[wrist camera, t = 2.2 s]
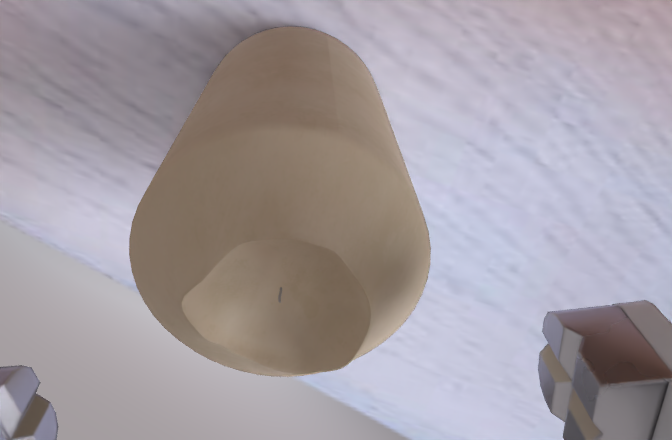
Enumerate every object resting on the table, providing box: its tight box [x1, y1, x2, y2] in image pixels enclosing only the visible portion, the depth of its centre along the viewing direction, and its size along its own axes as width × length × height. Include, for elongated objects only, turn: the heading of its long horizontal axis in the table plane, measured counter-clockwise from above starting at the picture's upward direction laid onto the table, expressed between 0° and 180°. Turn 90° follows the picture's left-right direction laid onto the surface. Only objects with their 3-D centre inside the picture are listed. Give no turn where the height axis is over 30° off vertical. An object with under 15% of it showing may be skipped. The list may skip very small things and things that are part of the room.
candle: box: [129, 26, 431, 377], centre depth 13 cm, size 6×6×10 cm
